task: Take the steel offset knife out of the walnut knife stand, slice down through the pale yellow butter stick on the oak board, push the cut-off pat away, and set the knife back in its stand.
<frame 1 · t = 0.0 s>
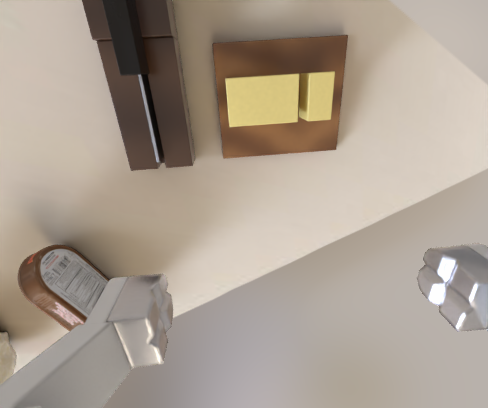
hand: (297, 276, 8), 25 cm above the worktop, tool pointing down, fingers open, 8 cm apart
butter pat: (310, 95, 29), point 1 cm above the worktop, touching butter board
knife stand: (153, 90, 28), on the worktop
butter: (258, 98, 29), point 1 cm above the worktop, touching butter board
tin: (94, 270, 39), on the worktop
knife: (151, 90, 28), point 1 cm above the worktop, touching knife stand
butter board: (278, 101, 30), on the worktop
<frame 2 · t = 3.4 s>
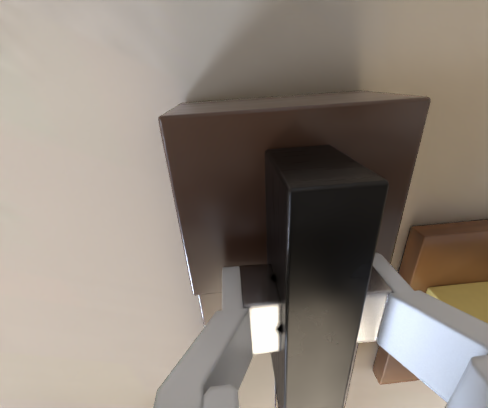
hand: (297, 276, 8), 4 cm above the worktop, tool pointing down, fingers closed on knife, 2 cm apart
knife stand: (273, 297, 14), on the worktop
butter: (477, 310, 15), point 1 cm above the worktop, touching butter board
knife: (276, 309, 14), point 1 cm above the worktop, touching gripper, knife stand
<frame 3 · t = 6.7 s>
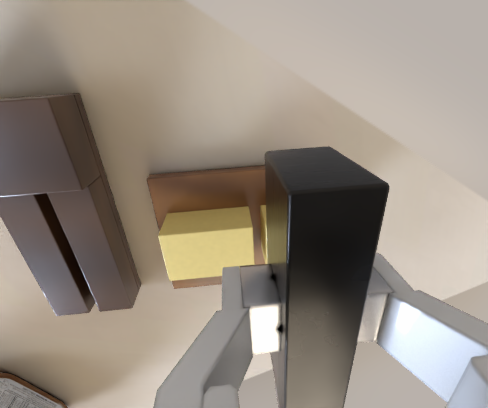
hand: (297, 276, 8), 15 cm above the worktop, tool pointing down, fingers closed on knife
butter pat: (274, 225, 24), point 1 cm above the worktop, touching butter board
knife stand: (80, 222, 23), on the worktop
butter: (210, 231, 23), point 1 cm above the worktop, touching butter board
tin: (35, 388, 34), on the worktop
knife: (276, 310, 14), point 11 cm above the worktop, touching gripper
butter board: (237, 227, 25), on the worktop
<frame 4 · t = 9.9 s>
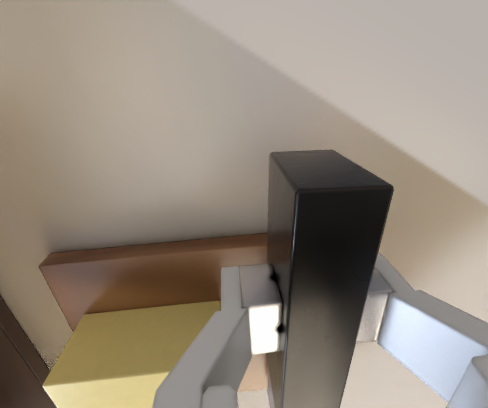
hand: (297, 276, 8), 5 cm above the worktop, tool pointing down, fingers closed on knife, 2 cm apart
butter: (161, 335, 14), point 1 cm above the worktop, touching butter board
knife: (272, 312, 14), point 1 cm above the worktop, touching butter pat, gripper
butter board: (207, 321, 16), on the worktop
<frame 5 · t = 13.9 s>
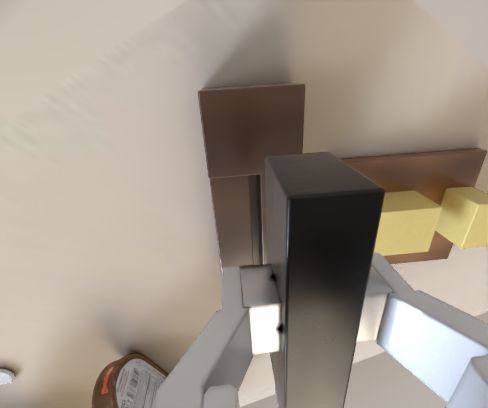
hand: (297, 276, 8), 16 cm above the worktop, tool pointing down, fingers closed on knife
butter pat: (451, 208, 25), point 1 cm above the worktop, touching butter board
knife stand: (252, 206, 25), on the worktop
butter: (373, 214, 25), point 1 cm above the worktop, touching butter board
tin: (158, 370, 35), on the worktop
knife: (277, 313, 14), point 12 cm above the worktop, touching gripper
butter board: (390, 211, 26), on the worktop
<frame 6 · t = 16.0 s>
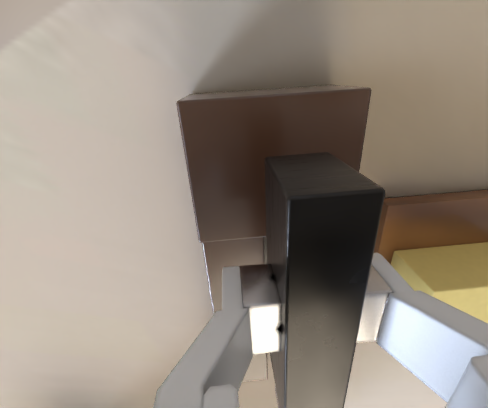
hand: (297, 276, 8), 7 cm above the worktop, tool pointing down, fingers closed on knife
knife stand: (265, 261, 17), on the worktop
butter: (437, 272, 17), point 1 cm above the worktop, touching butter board
knife: (277, 313, 14), point 4 cm above the worktop, touching gripper
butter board: (458, 265, 19), on the worktop
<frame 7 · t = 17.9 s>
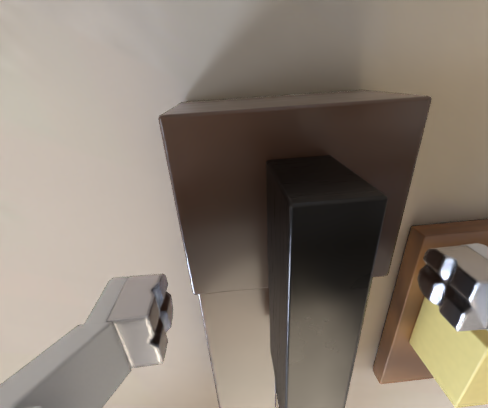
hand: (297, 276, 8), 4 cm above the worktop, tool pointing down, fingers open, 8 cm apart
knife stand: (274, 297, 14), on the worktop
butter: (477, 309, 15), point 1 cm above the worktop, touching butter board
knife: (277, 312, 14), point 1 cm above the worktop, touching knife stand
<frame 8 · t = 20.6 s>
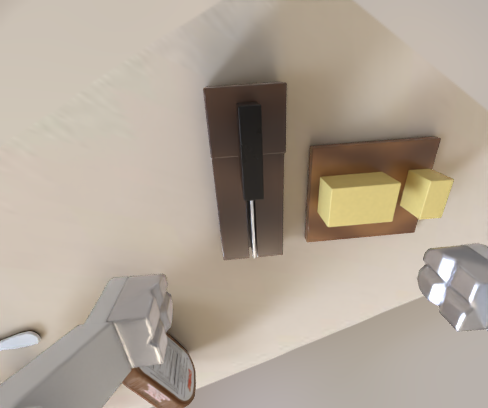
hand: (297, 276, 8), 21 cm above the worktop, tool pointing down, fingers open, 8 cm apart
butter pat: (414, 187, 30), point 1 cm above the worktop, touching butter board
knife stand: (247, 185, 29), on the worktop
butter: (348, 192, 30), point 1 cm above the worktop, touching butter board
tin: (165, 335, 40), on the worktop
knife: (248, 190, 29), point 1 cm above the worktop, touching knife stand
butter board: (364, 191, 31), on the worktop
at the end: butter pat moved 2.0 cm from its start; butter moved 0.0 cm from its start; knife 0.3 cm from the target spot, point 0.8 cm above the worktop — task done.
